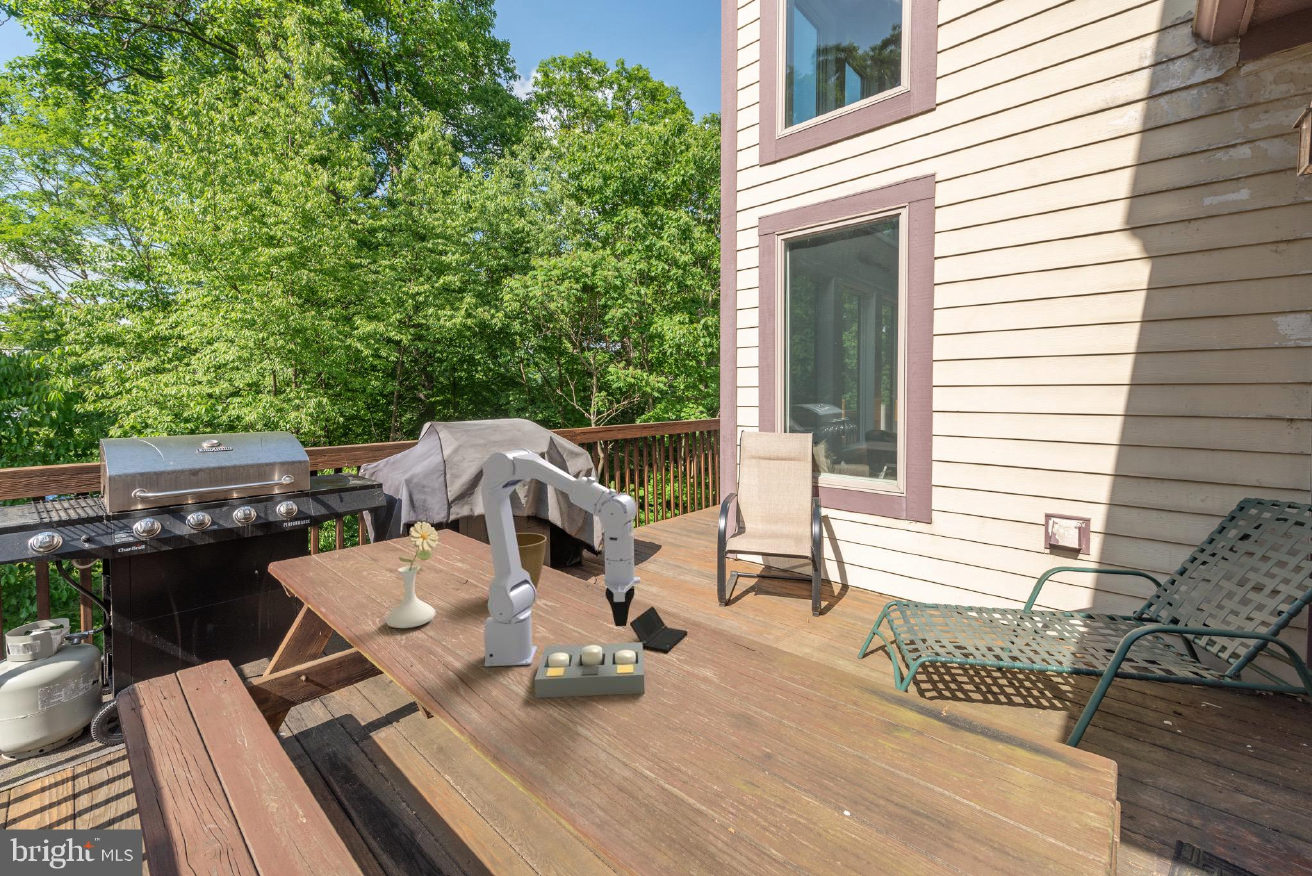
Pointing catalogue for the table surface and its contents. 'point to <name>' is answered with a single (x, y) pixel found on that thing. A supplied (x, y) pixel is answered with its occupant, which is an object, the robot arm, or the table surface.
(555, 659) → the button left
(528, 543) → the plant pot
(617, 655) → the button right
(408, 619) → the flower in vase
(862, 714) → the table surface
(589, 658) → the button middle
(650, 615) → the handheld gaming console
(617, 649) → the button board
